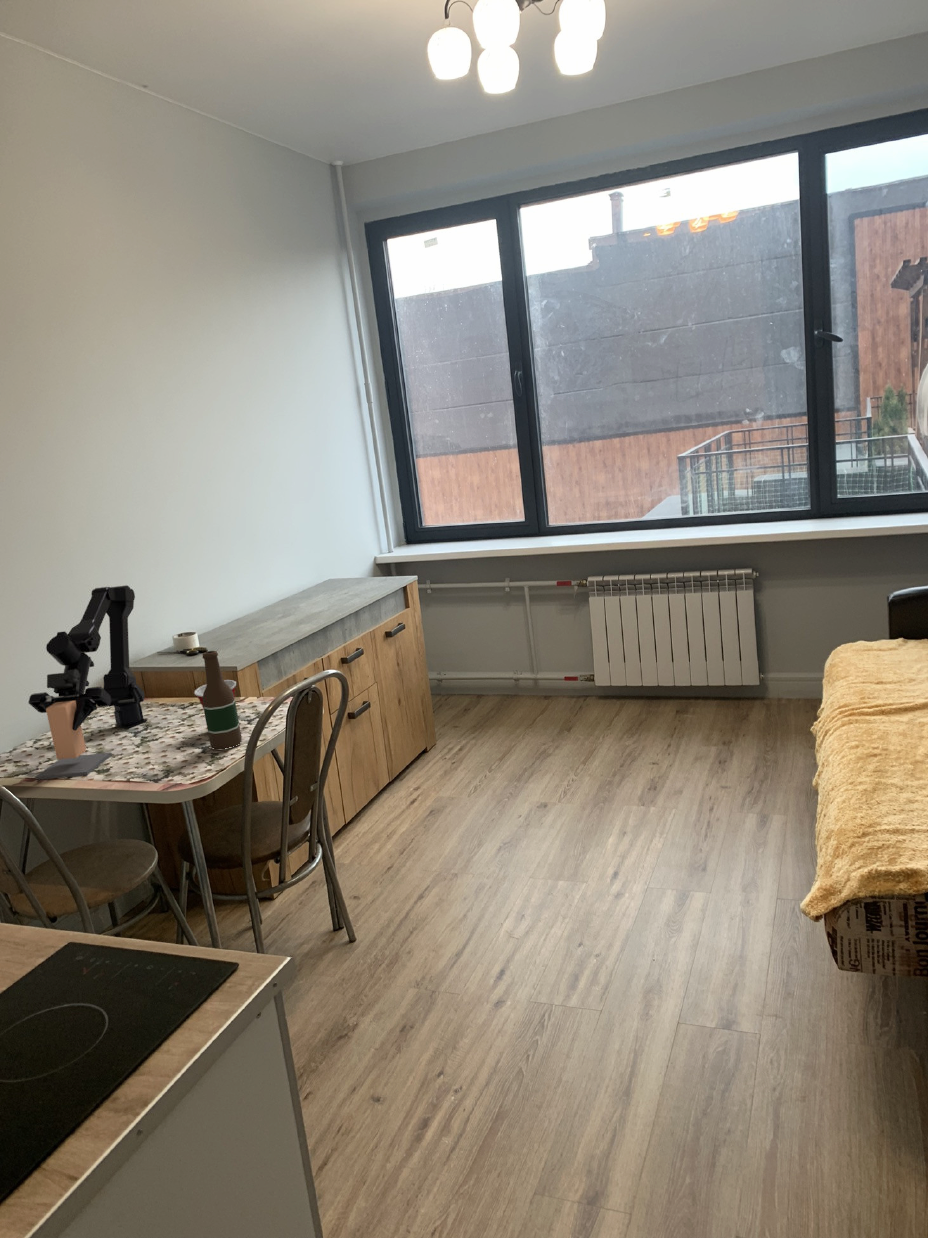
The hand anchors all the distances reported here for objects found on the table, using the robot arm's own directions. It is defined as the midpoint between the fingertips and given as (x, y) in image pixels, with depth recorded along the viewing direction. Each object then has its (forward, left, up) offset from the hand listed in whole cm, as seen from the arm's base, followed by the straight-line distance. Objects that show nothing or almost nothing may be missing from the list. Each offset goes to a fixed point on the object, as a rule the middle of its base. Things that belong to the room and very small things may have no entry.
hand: (63, 730), depth 226 cm
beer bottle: (-26, +27, -10) cm, 39 cm away
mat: (-1, -1, -10) cm, 10 cm away
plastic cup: (-34, +15, -10) cm, 39 cm away
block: (-1, -1, -7) cm, 7 cm away
